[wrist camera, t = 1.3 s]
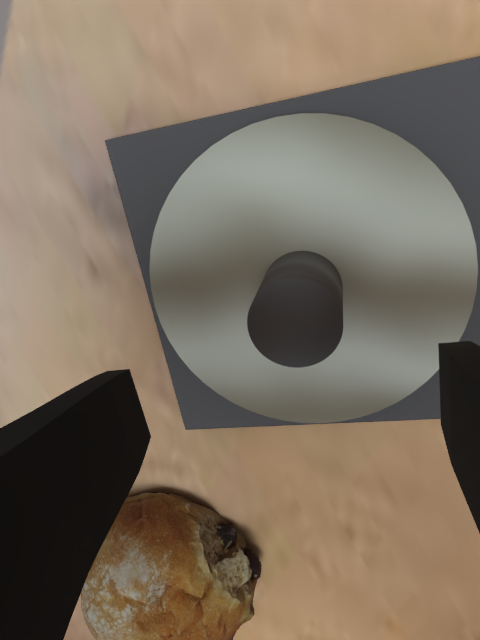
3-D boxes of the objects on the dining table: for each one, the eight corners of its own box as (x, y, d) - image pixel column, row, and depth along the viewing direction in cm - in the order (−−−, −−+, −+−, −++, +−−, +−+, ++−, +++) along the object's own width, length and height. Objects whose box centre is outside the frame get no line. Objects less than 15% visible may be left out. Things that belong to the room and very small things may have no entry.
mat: (483, 410, 20) (487, 416, 20) (188, 423, 24) (185, 429, 23) (483, 56, 15) (488, 54, 15) (110, 139, 19) (104, 140, 18)
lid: (474, 407, 20) (506, 476, 16) (193, 420, 23) (163, 481, 19) (471, 75, 15) (516, 60, 11) (119, 151, 18) (61, 160, 15)
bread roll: (145, 437, 30) (29, 515, 24) (279, 512, 24) (172, 638, 18) (154, 547, 34) (57, 637, 28) (272, 633, 28) (182, 768, 22)
